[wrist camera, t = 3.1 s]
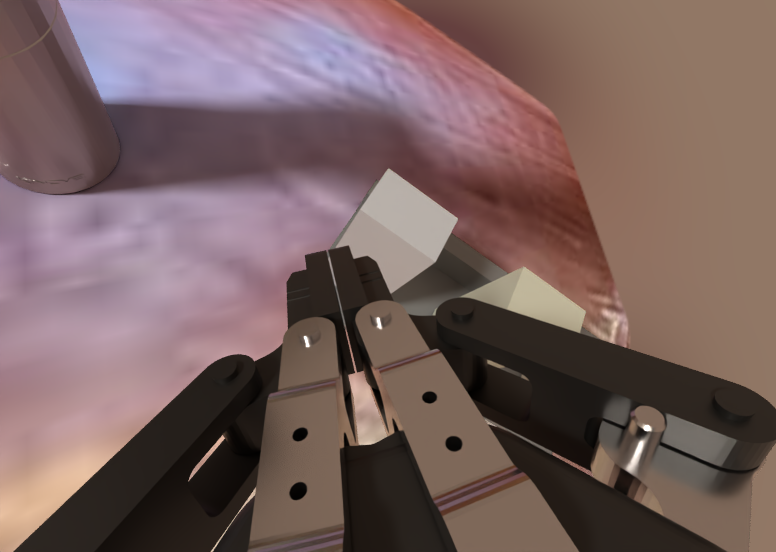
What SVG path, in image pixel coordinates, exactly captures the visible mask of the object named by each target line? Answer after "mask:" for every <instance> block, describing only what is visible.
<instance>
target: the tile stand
mask: <svg viewBox="0 0 776 552" xmlns="http://www.w3.org/2000/svg"><path fill="white" fill-rule="evenodd" d="M378 183H379V181H378V180H376V181H375V183H374V184H373V186H372V187H371V188H370V190H369V191H368V193H367V194H366V196H365V197H364V199H363V201H362V202H361V204H360V205H359V207H358V209H357V210H356V212H355V213H354V215H353V216H352V218H351V219H350V221H349V222H348V223H347V225H346V226H345V228H344V229H343V231H342V232H341V233H340V235H339V236H338V238H337V239H336V241H335V242H334V244H333V245H332V246H331V248H330V249H334V248H336V246H337V245H338V243H339V241H340V240H341V238H342V237H343V235H344V234H345V232H346V230H347V229H348V227H349V226H350V224H351V223H352V221H353V220H354V218H355V216H356V215H357V213H358V212H359V210H360V209H361V207H362V206H363V204H364V203H365V201H366V200H367V199H368V197H369V196H370V194H371V193H372V191H373V190H374V188H375V187H376V185H377V184H378ZM330 249H329V250H330ZM327 256H328V259H329V257H330V256H329V252H327ZM507 274H508V273H506V272H505V271H504V270H502V269H501V268H499V267H498V266H497V265H495V264H494V263H492V262H491V261H490V260H488V259H487V258H486V257H484V256H483V255H481V254H480V253H479V252H477V251H476V250H474V249H473V248H472V247H470V246H469V245H467V244H466V243H465V242H463V241H462V240H460V239H459V238H458V237H456V236H455V235H453V234H452V233H451V234H450V236H449V237H448V239H447V241H446V243H445V245H444V247H443V249H442V251H441V253H440V255H439V256H438V258H437V260H436V262H435V263H434V264H432V265H431V266H429V267H428V268H427V269H425V270H424V271H422V272H421V273H419V274H418V275H417V276H415V277H414V278H412V279H411V280H410V281H408V282H407V283H405V284H404V285H403V286H401V287H400V288H398V289H397V290H395V291H394V292H393V293H391V296H392V298H393V300H394V302H397V303H399V304H401V305H402V306H403V307H404V308H405V310H406V312H407V313H408V314H411V315H417V316H430V315H433V313H434V311H435V309H436V308H438V307H439V305H440V304H442V303H443V302H445V301H447V300H449V299H453V298H459V297H461V296H463V295H465V294H467V293H469V292H472V291H474V290H476V289H478V288H480V287H482V286H484V285H486V284H488V283H490V282H493V281H495V280H497V279H499V278H501V277H503V276H505V275H507ZM335 288H336V292H337V297H338V301H339V305H340V309H341V314H342V318H343V323H344V327H345V329H346V330H347V328H346V324H345V320H344V316H343V312H342V307H341V303H340V299H339V295H338V290H337V286H335ZM580 333H581V334H584V335H587V336H591V337H594V338H597V337H596V336H594V335H593V334H592V333H590V332H589V331H587V330H586V329H585V328H583V327H581V331H580ZM597 339H599V338H597ZM500 369H502V370H504V371H507V372H509V373H512V374H514V375H516V376H519V377H521V376H522V374H521V373H519V372H516V371H514V370H512V369H509V368H507V367H503V368H500ZM483 418H484V419H486V420H488V421H489V422H491V423H492V424H494V425H495V426H497V427H499V428H501V429H504V430H506V431H509V432H511V433H513V434H515V435H517V436H518V437H520V438H522V439H524V440H526V441H528V442H529V443H531V444H533V445H535V446H537V447H539V448H540V449H542V450H544V451H546V452H548V453H549V454H551V455H552V451H550V450H548V449H546V448H544V447H542V446H540V445H538V444H536V443H534V442H532V441H530V440H528V439H526V438H524V437H522V436H520V435H518V434H516V433H515V432H513V431H511V430H509V429H507V428H505V427H503V426H501V425H499V424H497V423H495V422H493V421H491V420H489V419H487V418H485V417H483Z"/></svg>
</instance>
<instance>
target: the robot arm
mask: <svg viewBox="0 0 776 552" xmlns="http://www.w3.org/2000/svg"><path fill="white" fill-rule="evenodd" d="M119 155H120V144H119V139H118V136H117V134H116V132H115V129H114V127H113V125H112V123H111V120H110V118H109V116H108V113H107V111H106V108H105V106H104V103H103V101H102V99H101V97H100V94H99V92H98V90H97V88H96V85H95V83H94V81H93V78H92V76H91V74H90V72H89V69H88V67H87V65H86V63H85V60H84V58H83V56H82V53H81V51H80V49H79V47H78V44H77V42H76V40H75V38H74V35H73V33H72V31H71V28H70V26H69V24H68V22H67V19H66V17H65V15H64V12H63V10H62V8H61V6H60V3H59V1H58V0H0V174H1V175H2V176H3V177H5V178H6V179H7V180H8V181H10V182H12V183H14V184H16V185H17V186H19V187H22V188H25V189H28V190H31V191H34V192H40V193H46V194H65V193H73V192H78V191H81V190H84V189H87V188H90V187H92V186H94V185H96V184H98V183H100V182H101V181H102V180H103V179H105V178H106V177H107V176H108V175H109V174H110V173H111V172H112V170H113V169H114V168H115V166H116V164H117V162H118V160H119ZM328 252H329V256H330V260H331V265H332V269H333V273H334V277H335V282H336V286H337V290H338V295H339V299H340V303H341V307H342V312H343V316H344V320H345V324H346V328H347V332H348V336H349V341H350V345H351V349H352V353H353V357H354V361H355V365H356V370H357V372H361V371H364V374H365V377H366V381H367V383H368V384H369V385H370V389H371V393H372V396H373V398H374V401H375V404H376V406H377V409H378V412H379V415H380V417H381V420H382V423H383V425H384V428H385V431H386V434H387V436H388V437H386V438H384V439H382V440H381V441H379V442H377V443H375V444H371V445H359V443H358V434H357V425H356V416H355V407H354V398H353V393H352V390H351V386H350V382H349V377H348V375H349V374H353V373H355V371H354V367H353V362H352V358H351V353H350V349H349V345H348V340H347V336H346V331H345V327H344V323H343V318H342V314H341V309H340V305H339V301H338V297H337V292H336V288H335V284H334V280H333V276H332V272H331V268H330V264H329V260H328V256H327V252H326V250H325V251H321V252H316V253H312V254H307V255H305V260H306V268H307V270H302V271H298V272H294V273H292V274H291V276H290V278H289V279H288V281H287V301H288V302H287V313H288V330H287V331H286V333H285V335H284V338H283V343H282V344H281V346H280V347H278V348H277V349H276V350H275V351H273V352H272V353H270V354H268V355H267V356H265V357H263V358H261V359H259V360H257V361H255V362H254V360H253V359H252V358H251V357H249V356H247V355H242V354H237V355H230V356H227V357H224V358H221V359H219V360H217V361H215V362H214V363H212V364H211V365H209V366H208V367H207V368H206V369H205V370H204V371H203V372H202V373H201V374H200V375H199V376H197V377H196V378H195V379H194V380H193V381H192V382H191V383H190V384H189V385H188V386H187V387H186V388H185V389H184V390H183V391H182V392H181V393H180V394H179V395H178V396H176V397H175V398H174V399H173V400H172V401H171V402H170V403H169V404H168V405H167V406H166V407H165V408H164V409H163V410H162V411H161V412H160V413H159V414H158V415H156V416H155V417H154V418H153V419H152V420H151V421H150V422H149V423H148V424H147V425H146V426H145V427H144V428H143V429H142V430H141V431H140V432H139V433H138V434H137V435H135V436H134V437H133V438H132V439H131V440H130V441H129V442H128V443H127V444H126V445H125V446H124V447H123V448H122V449H121V450H120V451H119V452H118V453H117V454H115V455H114V456H113V457H112V458H111V459H110V460H109V461H108V462H107V463H106V464H105V465H104V466H103V467H102V468H101V469H100V470H99V471H98V472H97V473H96V474H94V475H93V476H92V477H91V478H90V479H89V480H88V481H87V482H86V483H85V484H84V485H83V486H82V487H81V488H80V489H79V490H78V491H77V492H76V493H74V494H73V495H72V496H71V497H70V498H69V499H68V500H67V501H66V502H65V503H64V504H63V505H62V506H61V507H60V508H59V509H58V510H57V511H56V512H55V513H53V514H52V515H51V516H50V517H49V518H48V519H47V520H46V521H45V522H44V523H43V524H42V525H41V526H40V527H39V528H38V529H37V530H36V531H35V532H33V533H32V534H31V535H30V536H29V537H28V538H27V539H26V540H25V541H24V542H23V543H22V544H21V545H20V546H19V547H18V548H17V549H16V550H15V551H14V552H211V550H212V549H213V547H214V546H215V545H216V543H217V542H218V540H219V539H220V537H221V536H222V535H223V533H224V532H225V530H226V529H227V527H228V526H229V525H230V523H231V522H232V520H233V519H234V517H235V516H236V515H237V513H238V512H239V510H240V509H241V508H242V506H243V505H244V503H245V502H246V500H247V499H248V498H249V496H250V495H251V493H252V492H253V490H254V489H255V488H256V494H255V496H254V497H253V498H252V499H251V500H250V501H249V502H248V503H247V504H246V505H245V506H244V508H243V509H242V510H241V511H240V512H239V514H238V515H237V516H236V518H235V519H234V521H233V522H232V524H231V525H230V527H229V528H228V530H227V531H226V533H225V534H224V536H223V537H222V539H221V540H220V542H219V543H218V545H217V546H216V548H215V549H214V551H213V552H749V539H750V518H751V498H752V497H751V496H752V481H753V480H754V478H755V477H756V475H757V474H758V472H759V471H760V470H761V468H762V467H763V465H764V464H765V461H766V456H767V455H768V453H769V452H770V450H771V449H772V447H773V446H774V445H775V443H776V409H775V408H774V407H773V406H772V405H771V404H770V403H769V402H768V401H767V400H766V399H764V398H763V397H762V396H760V395H759V394H757V393H755V392H754V391H752V390H750V389H748V388H746V387H744V386H741V385H739V384H736V383H733V382H730V381H727V380H724V379H721V378H718V377H714V376H711V375H708V374H705V373H702V372H699V371H696V370H692V369H689V368H687V367H683V366H680V365H677V364H674V363H671V362H668V361H665V360H662V359H659V358H655V357H653V356H649V355H646V354H643V353H640V352H637V351H634V350H631V349H628V348H625V347H622V346H618V345H615V344H612V343H609V342H606V341H603V340H600V339H597V338H594V337H591V336H587V335H584V334H581V333H578V332H575V331H572V330H569V329H566V328H563V327H560V326H556V325H553V324H550V323H547V322H544V321H541V320H538V319H535V318H532V317H529V316H525V315H522V314H519V313H516V312H513V311H510V310H507V309H504V308H501V307H498V306H494V305H491V304H488V303H485V302H482V301H479V300H476V299H472V298H467V297H459V298H453V299H449V300H447V301H445V302H443V303H442V304H440V305H439V307H438V308H437V310H436V315H430V316H417V315H411V314H408V313H407V312H406V310H405V308H404V307H403V306H402V305H401V304H399V303H397V302H394V300H393V298H392V296H391V293H390V291H389V289H388V287H387V284H386V282H385V280H384V278H383V275H382V273H381V271H380V268H379V266H378V264H377V262H376V261H375V260H373V259H372V258H370V257H369V256H363V257H359V258H355V259H353V256H352V253H351V250H350V247H349V245H347V246H343V247H339V248H334V249H330V250H328ZM488 360H490V361H492V362H495V363H497V364H499V365H502V366H504V367H507V368H509V369H512V370H514V371H516V372H519V373H521V374H522V375H524V376H525V377H526V378H527V379H528V380H529V381H528V380H526V379H524V378H521V377H519V376H516V375H514V374H512V373H509V372H507V371H504V370H502V369H500V368H497V367H495V366H493V365H490V364H488ZM483 417H485V418H487V419H489V420H491V421H493V422H495V423H497V424H499V425H501V426H503V427H505V428H507V429H509V430H511V431H513V432H515V433H516V434H518V435H520V436H522V437H524V438H526V439H528V440H530V441H532V442H534V443H536V444H538V445H540V446H542V447H544V448H546V449H548V450H550V451H552V452H554V453H556V454H558V455H560V456H562V457H564V458H566V459H568V460H570V461H572V462H574V463H576V464H578V465H580V466H582V467H584V468H586V469H588V470H590V471H591V472H592V474H593V476H594V478H593V477H591V476H590V475H588V474H586V473H584V472H582V471H581V470H579V469H577V468H575V467H573V466H571V465H570V464H568V463H566V462H564V461H562V460H560V459H559V458H557V457H555V456H553V455H551V454H549V453H548V452H546V451H544V450H542V449H540V448H539V447H537V446H535V445H533V444H531V443H529V442H528V441H526V440H524V439H522V438H520V437H518V436H517V435H515V434H513V433H511V432H509V431H506V430H504V429H501V428H499V427H495V426H492V425H488V424H487V423H486V421H485V419H484V418H483ZM222 435H223V436H224V438H225V439H224V440H223V441H222V443H221V444H220V445H219V446H218V447H217V449H216V450H215V451H214V452H213V453H212V454H211V456H210V457H209V458H208V459H207V460H206V462H205V463H204V464H203V465H202V466H201V468H200V469H199V470H198V471H197V472H196V473H195V475H194V476H193V477H192V478H191V479H190V481H189V482H188V480H189V477H190V474H191V473H192V471H193V469H194V468H195V466H196V465H197V464H198V463H199V462H200V460H201V459H202V458H203V457H204V456H205V455H206V453H207V452H208V451H209V450H210V449H211V448H212V446H213V445H214V444H215V443H216V442H217V441H218V439H219V438H220V437H221V436H222Z"/></svg>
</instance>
